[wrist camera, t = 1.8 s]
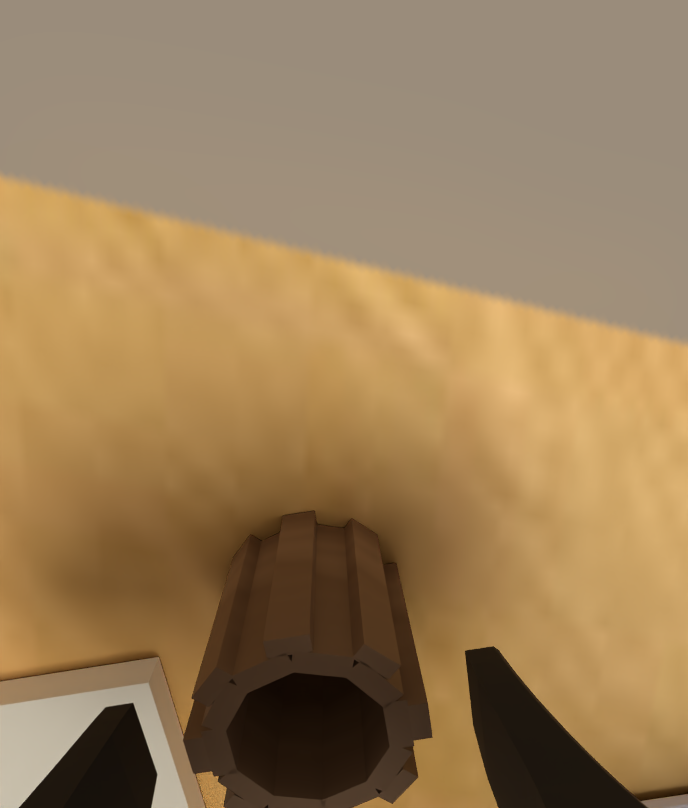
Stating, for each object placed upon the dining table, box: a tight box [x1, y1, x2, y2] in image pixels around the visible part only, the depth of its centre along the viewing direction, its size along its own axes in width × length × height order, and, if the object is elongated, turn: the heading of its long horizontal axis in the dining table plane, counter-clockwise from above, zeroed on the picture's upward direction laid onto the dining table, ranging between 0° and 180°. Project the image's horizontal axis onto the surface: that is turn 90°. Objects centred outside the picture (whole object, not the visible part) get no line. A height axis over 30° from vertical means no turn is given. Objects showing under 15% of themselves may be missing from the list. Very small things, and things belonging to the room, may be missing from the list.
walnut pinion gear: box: [183, 511, 433, 808], centre depth 13 cm, size 5×5×5 cm
